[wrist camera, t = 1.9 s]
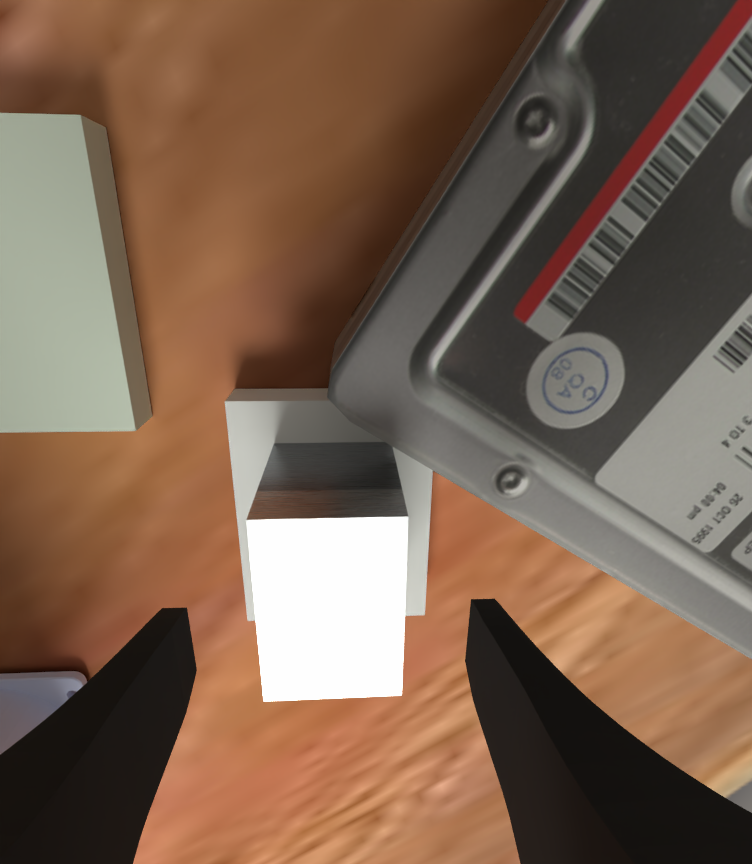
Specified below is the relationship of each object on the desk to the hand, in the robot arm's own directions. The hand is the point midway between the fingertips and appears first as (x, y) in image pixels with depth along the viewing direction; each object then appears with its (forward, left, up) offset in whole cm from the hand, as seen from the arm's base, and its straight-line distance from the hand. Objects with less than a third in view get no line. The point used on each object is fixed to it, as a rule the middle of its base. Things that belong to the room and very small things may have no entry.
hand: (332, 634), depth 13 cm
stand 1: (+8, +10, -7) cm, 15 cm away
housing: (0, 0, -6) cm, 6 cm away
